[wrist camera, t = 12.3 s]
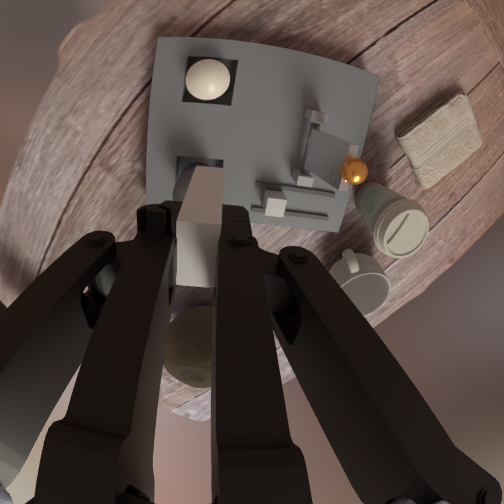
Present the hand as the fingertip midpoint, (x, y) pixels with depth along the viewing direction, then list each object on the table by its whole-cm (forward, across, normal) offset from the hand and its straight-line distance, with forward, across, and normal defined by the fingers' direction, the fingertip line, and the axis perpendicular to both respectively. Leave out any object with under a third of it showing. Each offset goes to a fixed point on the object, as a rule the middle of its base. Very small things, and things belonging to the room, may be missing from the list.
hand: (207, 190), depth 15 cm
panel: (+24, +5, 0) cm, 25 cm away
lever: (+18, +11, 0) cm, 21 cm away
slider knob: (+20, +8, -8) cm, 23 cm away
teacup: (+25, +25, -20) cm, 40 cm away
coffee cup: (+25, +25, -7) cm, 36 cm away
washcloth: (+25, +36, +7) cm, 45 cm away
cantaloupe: (+25, 0, -35) cm, 43 cm away
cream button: (+23, -2, +6) cm, 24 cm away
